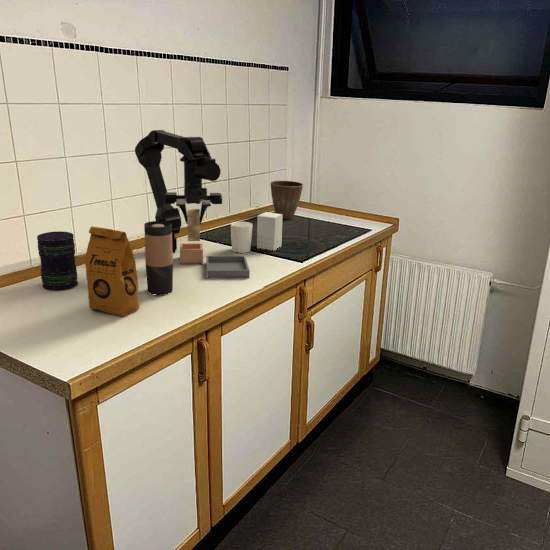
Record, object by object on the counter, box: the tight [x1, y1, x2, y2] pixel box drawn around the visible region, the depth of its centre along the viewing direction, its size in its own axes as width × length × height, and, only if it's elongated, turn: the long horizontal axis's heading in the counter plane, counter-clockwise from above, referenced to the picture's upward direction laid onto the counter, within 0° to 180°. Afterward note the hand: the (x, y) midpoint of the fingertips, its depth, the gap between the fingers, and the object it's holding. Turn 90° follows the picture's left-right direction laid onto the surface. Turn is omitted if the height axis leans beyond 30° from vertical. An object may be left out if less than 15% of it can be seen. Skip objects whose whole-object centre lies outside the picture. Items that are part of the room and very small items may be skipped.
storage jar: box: [36, 230, 79, 292], centre depth 154 cm, size 10×10×15 cm
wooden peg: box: [186, 208, 201, 242], centre depth 178 cm, size 4×4×10 cm
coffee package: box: [84, 226, 140, 318], centre depth 138 cm, size 10×12×22 cm
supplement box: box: [256, 211, 283, 252], centre depth 200 cm, size 7×7×13 cm
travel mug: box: [143, 220, 174, 296], centre depth 152 cm, size 8×8×20 cm
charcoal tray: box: [205, 255, 251, 279], centre depth 175 cm, size 13×15×2 cm
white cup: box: [230, 221, 253, 254], centre depth 195 cm, size 8×8×10 cm
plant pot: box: [269, 180, 304, 220], centre depth 246 cm, size 15×15×16 cm
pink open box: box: [179, 242, 204, 265], centre depth 182 cm, size 8×8×5 cm
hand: (193, 223), depth 178 cm, fingers closed on wooden peg, 4 cm apart
